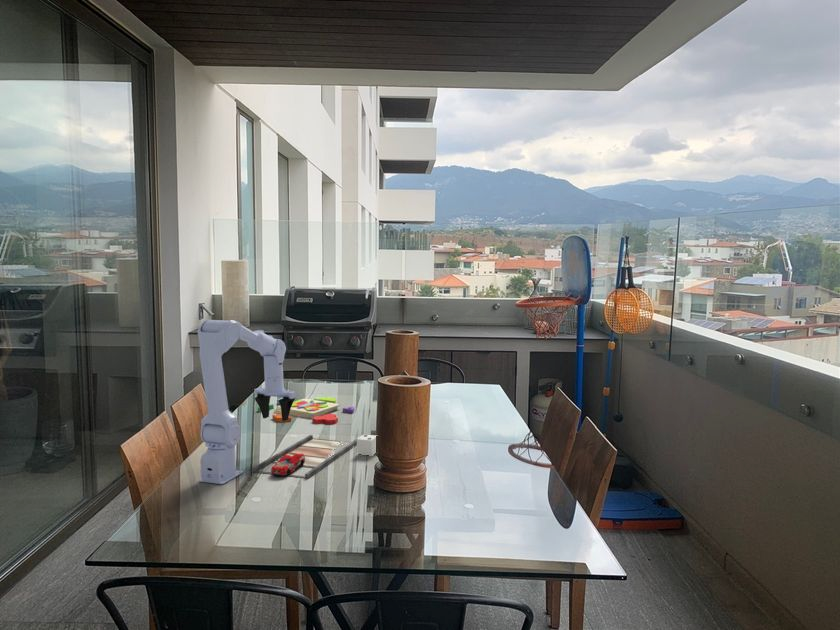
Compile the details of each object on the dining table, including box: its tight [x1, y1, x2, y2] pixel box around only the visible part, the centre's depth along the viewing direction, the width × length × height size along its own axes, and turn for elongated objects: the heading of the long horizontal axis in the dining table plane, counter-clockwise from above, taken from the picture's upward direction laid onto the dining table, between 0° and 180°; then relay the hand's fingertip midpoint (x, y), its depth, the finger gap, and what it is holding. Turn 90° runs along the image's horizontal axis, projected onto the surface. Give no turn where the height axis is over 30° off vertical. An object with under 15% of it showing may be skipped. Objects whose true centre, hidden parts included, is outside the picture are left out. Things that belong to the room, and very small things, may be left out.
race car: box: [270, 452, 305, 477], centre depth 179 cm, size 13×5×4 cm, turn 161°
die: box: [356, 434, 377, 457], centre depth 193 cm, size 5×5×5 cm
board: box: [252, 434, 358, 480], centre depth 191 cm, size 33×18×1 cm, turn 161°
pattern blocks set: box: [257, 396, 355, 425], centre depth 245 cm, size 38×34×3 cm
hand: (275, 418), depth 198 cm, fingers open, 7 cm apart
